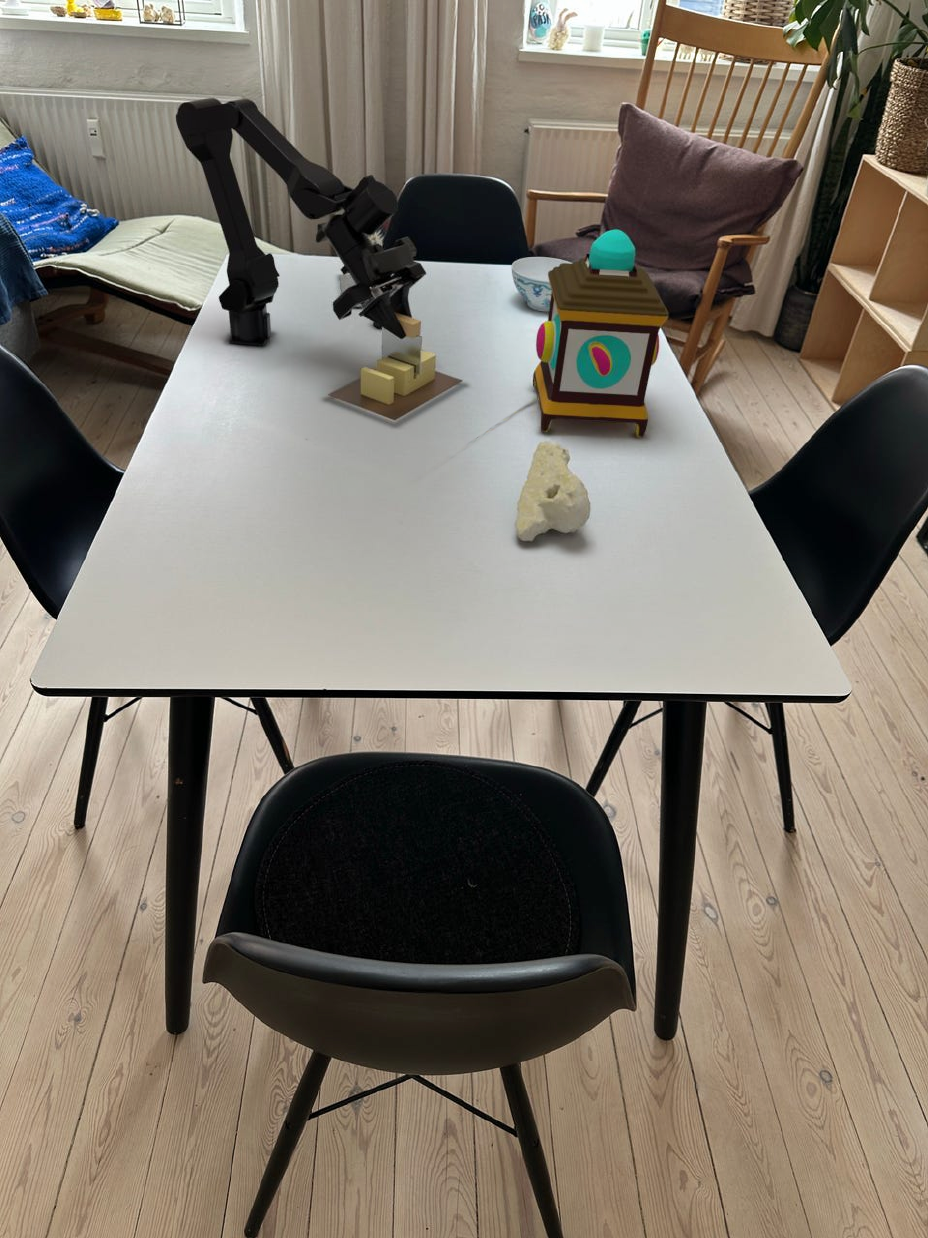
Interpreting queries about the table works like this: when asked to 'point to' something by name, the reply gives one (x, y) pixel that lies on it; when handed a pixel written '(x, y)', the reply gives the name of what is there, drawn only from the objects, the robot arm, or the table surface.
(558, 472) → the cream rough rock
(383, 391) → the butter slice
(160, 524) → the table surface
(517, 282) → the chinaware
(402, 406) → the board
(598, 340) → the decorative lantern
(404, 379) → the butter block
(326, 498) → the table surface
